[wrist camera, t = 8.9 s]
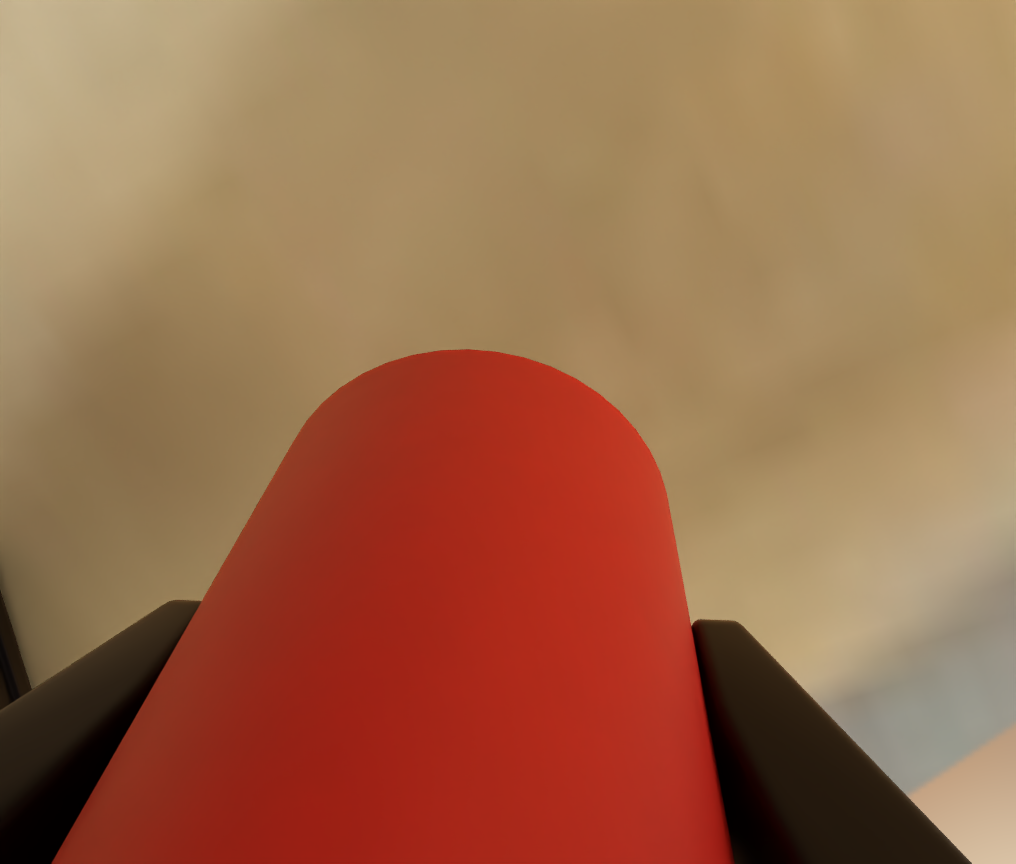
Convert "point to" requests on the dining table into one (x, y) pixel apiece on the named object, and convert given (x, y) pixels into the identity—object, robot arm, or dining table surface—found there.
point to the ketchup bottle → (433, 649)
